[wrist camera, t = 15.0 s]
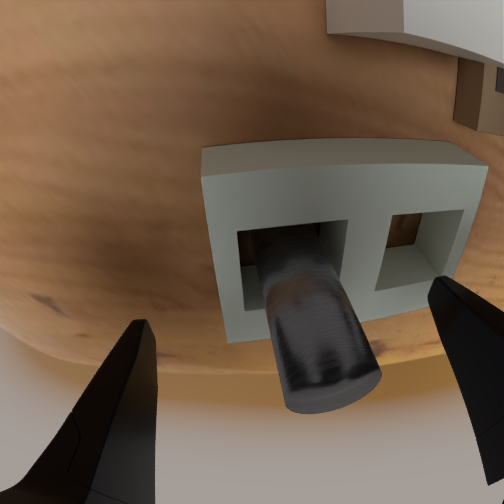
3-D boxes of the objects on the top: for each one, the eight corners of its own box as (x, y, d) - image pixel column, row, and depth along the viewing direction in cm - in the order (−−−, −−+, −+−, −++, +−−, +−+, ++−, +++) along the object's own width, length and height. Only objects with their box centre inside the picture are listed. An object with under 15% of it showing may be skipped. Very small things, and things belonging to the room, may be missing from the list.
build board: (450, 141, 11) (488, 166, 9) (417, 270, 15) (441, 303, 13) (202, 147, 10) (200, 177, 8) (224, 299, 14) (228, 343, 12)
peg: (310, 199, 12) (393, 353, 6) (307, 250, 13) (368, 401, 8) (247, 205, 11) (286, 377, 6) (250, 257, 13) (283, 420, 7)
